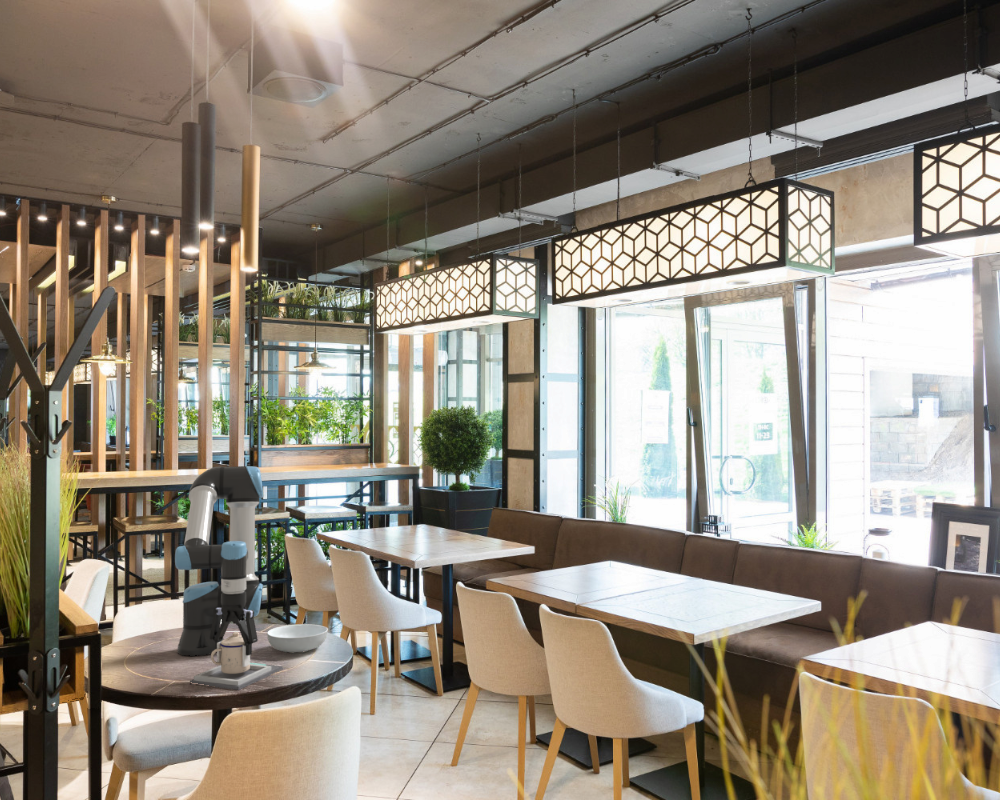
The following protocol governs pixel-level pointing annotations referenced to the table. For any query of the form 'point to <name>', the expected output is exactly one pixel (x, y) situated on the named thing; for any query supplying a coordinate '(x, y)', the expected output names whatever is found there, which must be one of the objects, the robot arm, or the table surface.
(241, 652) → the teacup with lid
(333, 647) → the table surface
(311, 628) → the serving bowl
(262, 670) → the base
